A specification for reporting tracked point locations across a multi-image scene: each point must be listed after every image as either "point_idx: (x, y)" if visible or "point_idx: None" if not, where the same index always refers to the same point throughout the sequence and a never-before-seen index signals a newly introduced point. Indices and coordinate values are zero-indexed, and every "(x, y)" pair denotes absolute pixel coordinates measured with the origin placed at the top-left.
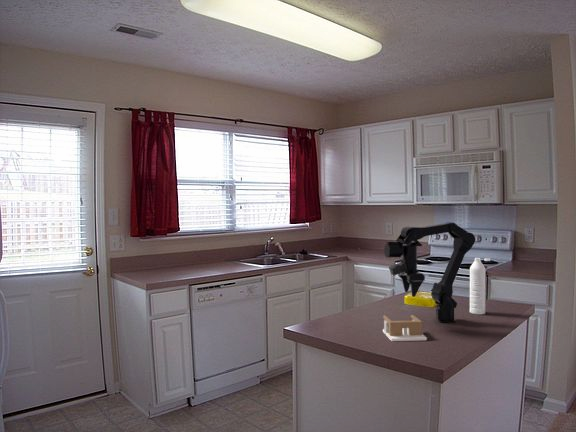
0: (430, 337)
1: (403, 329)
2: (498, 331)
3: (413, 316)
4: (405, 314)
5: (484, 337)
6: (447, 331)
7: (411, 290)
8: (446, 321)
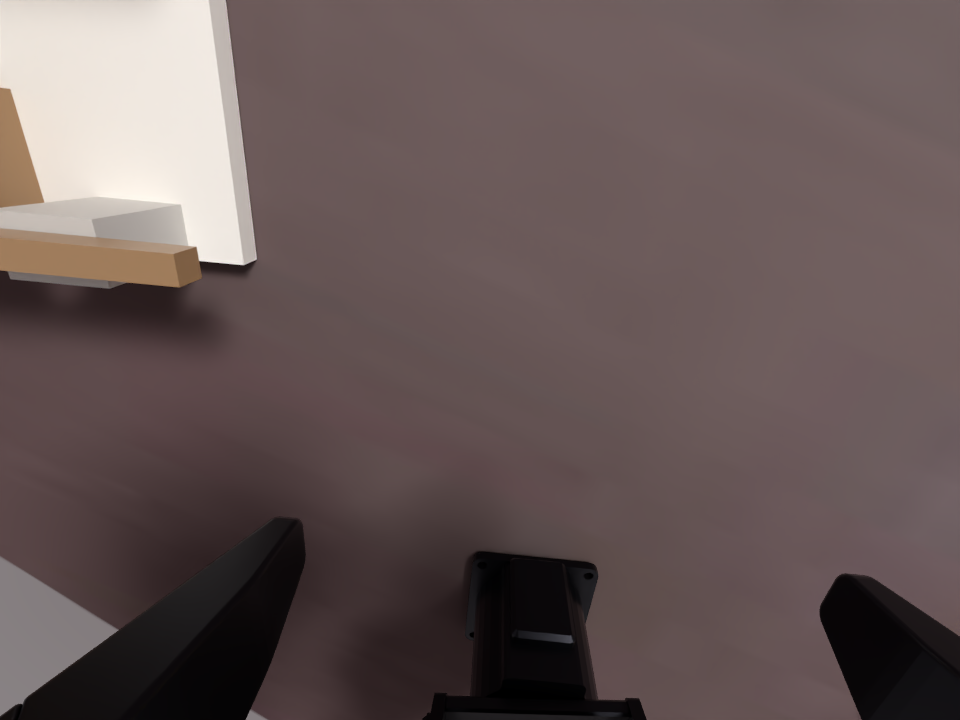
0: (58, 302)
1: (178, 102)
2: (257, 711)
3: (84, 255)
4: (829, 403)
5: (129, 613)
6: (244, 490)
7: (142, 648)
8: (470, 586)
